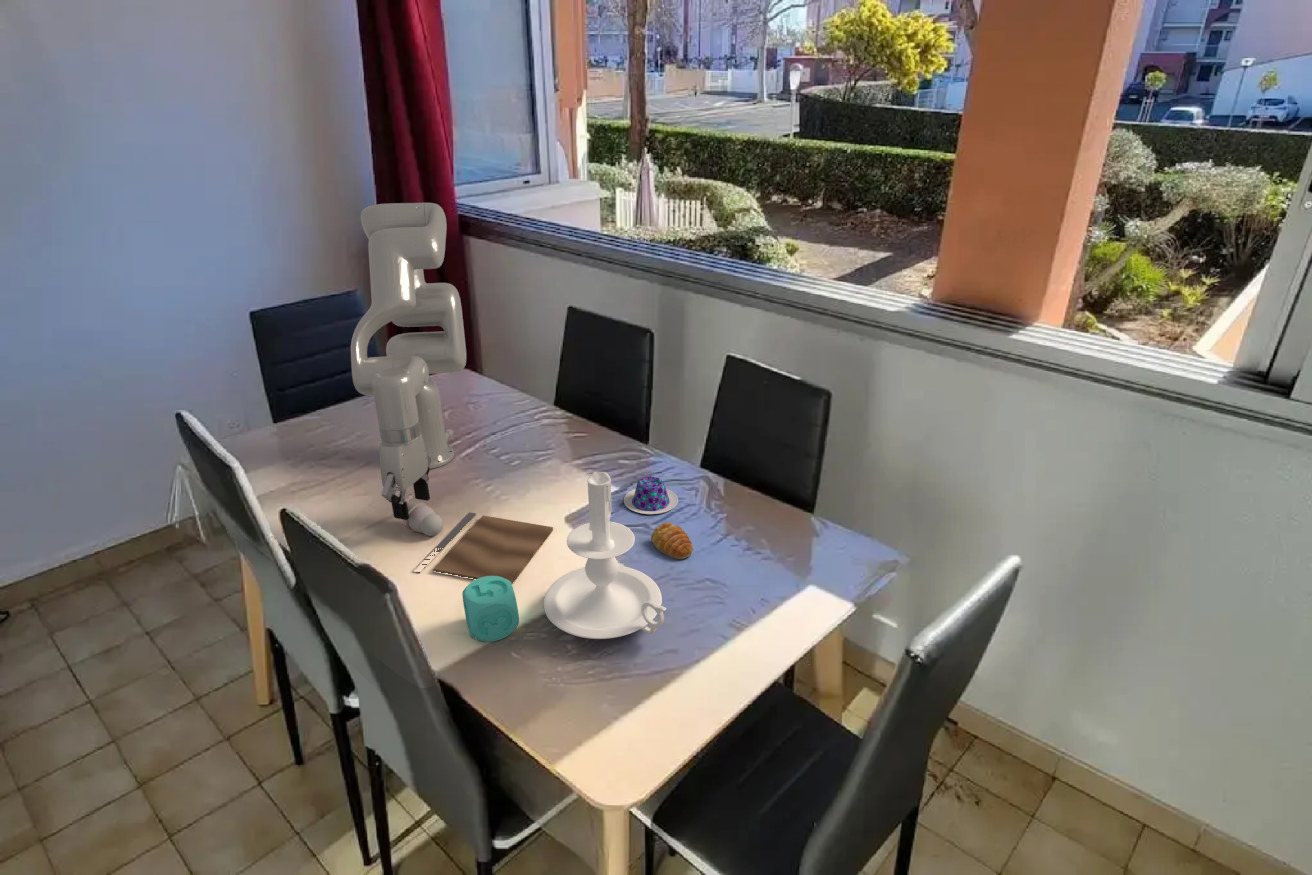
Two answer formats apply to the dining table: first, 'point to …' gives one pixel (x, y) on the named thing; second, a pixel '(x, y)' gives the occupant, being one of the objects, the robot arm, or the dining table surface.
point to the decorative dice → (490, 608)
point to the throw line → (453, 533)
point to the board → (494, 549)
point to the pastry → (672, 541)
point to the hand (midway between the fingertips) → (412, 508)
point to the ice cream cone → (423, 519)
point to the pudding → (650, 497)
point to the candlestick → (603, 578)
